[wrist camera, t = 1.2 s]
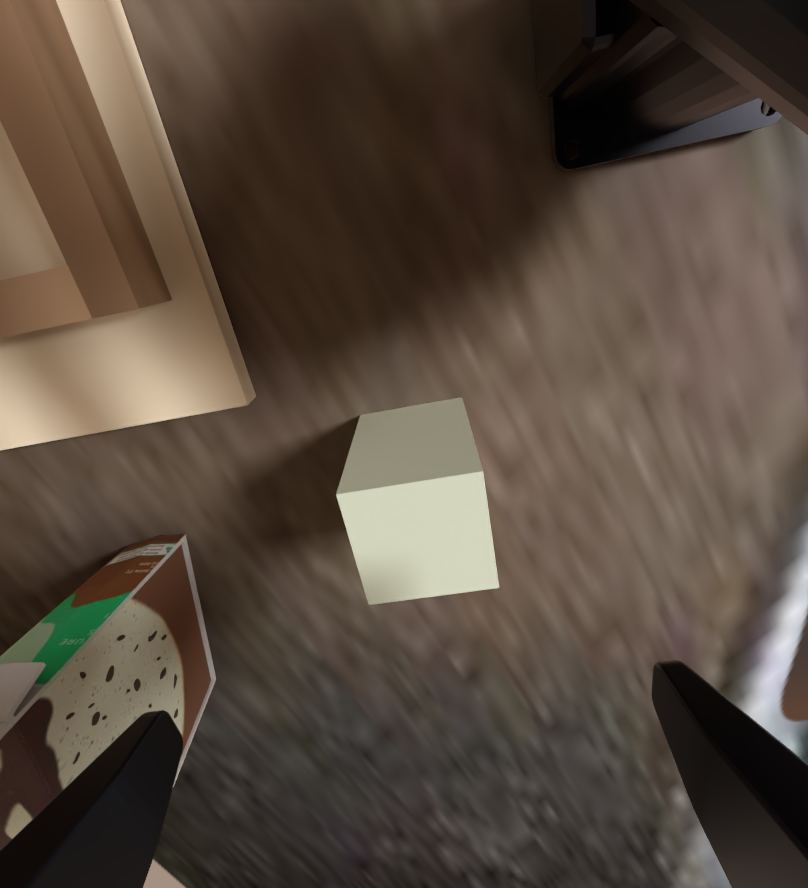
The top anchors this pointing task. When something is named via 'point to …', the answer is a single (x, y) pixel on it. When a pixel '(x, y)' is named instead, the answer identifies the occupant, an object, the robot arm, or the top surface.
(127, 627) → the food container
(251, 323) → the top surface
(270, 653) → the top surface
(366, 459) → the pale green block
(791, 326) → the top surface
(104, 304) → the post base
